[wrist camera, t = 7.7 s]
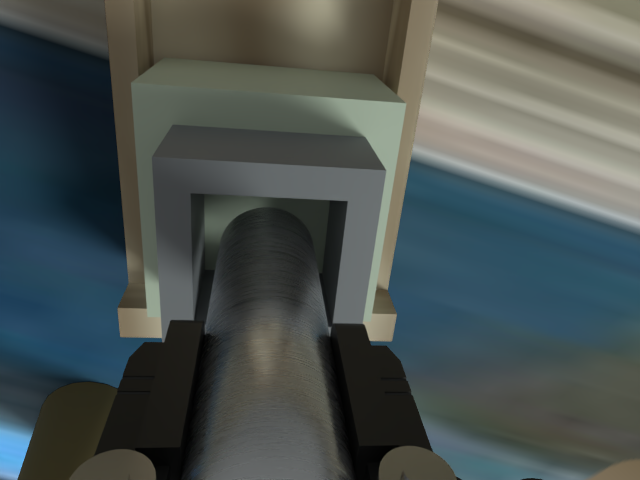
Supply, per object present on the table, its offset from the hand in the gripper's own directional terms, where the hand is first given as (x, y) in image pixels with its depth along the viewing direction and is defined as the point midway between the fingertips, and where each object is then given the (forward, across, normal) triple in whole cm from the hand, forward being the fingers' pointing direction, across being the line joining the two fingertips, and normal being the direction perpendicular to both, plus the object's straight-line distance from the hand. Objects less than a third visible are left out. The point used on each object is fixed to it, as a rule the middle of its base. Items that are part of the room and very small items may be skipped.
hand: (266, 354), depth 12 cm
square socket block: (+14, 0, 0) cm, 14 cm away
